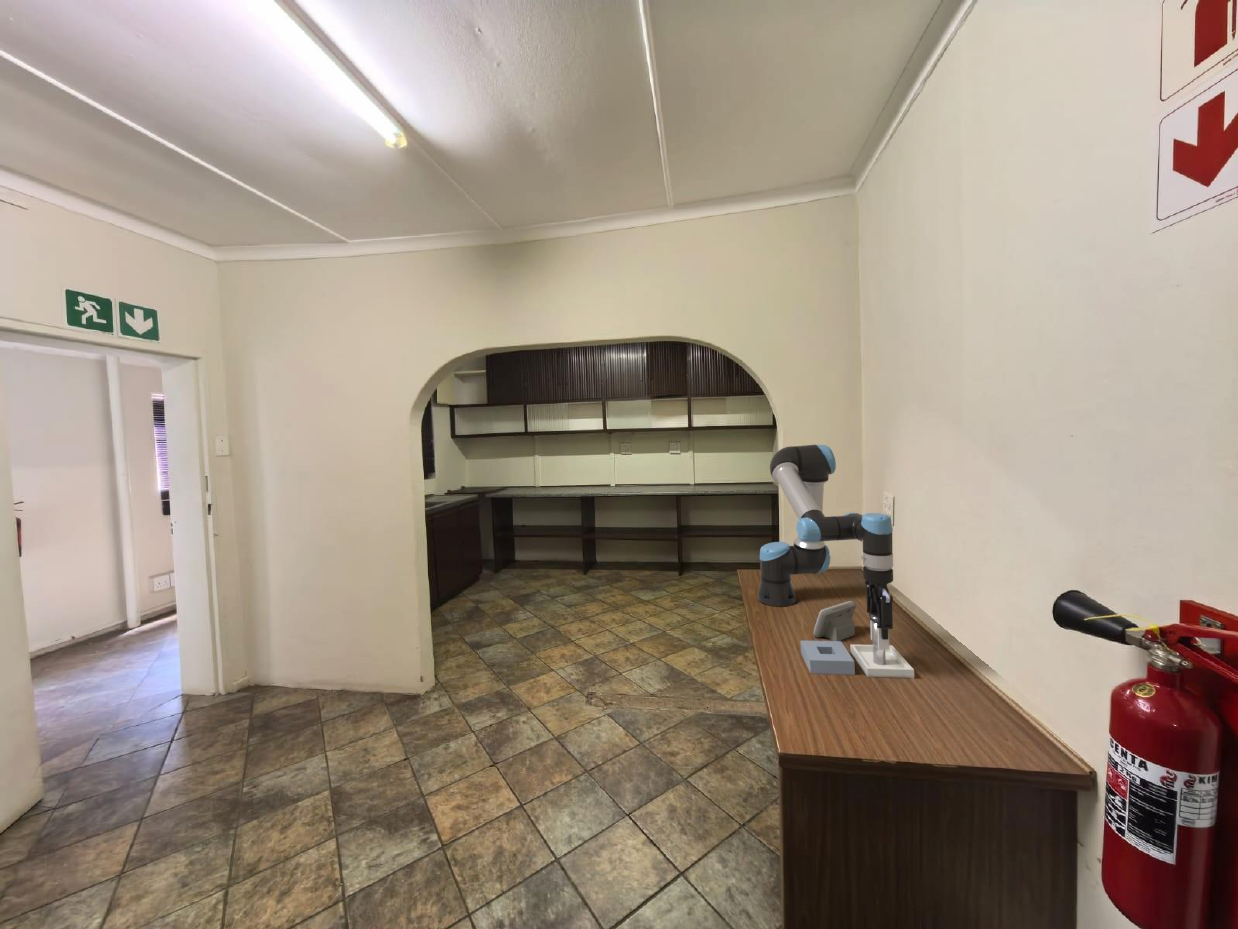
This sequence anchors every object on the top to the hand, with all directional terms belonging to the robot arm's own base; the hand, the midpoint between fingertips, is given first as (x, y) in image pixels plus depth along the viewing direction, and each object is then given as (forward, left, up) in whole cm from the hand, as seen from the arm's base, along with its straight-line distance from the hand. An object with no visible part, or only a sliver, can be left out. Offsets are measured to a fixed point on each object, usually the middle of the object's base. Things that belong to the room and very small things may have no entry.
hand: (879, 644), depth 129 cm
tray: (0, 0, -6) cm, 6 cm away
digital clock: (-19, -7, -7) cm, 22 cm away
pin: (0, 0, -6) cm, 6 cm away
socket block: (0, -15, -6) cm, 16 cm away
